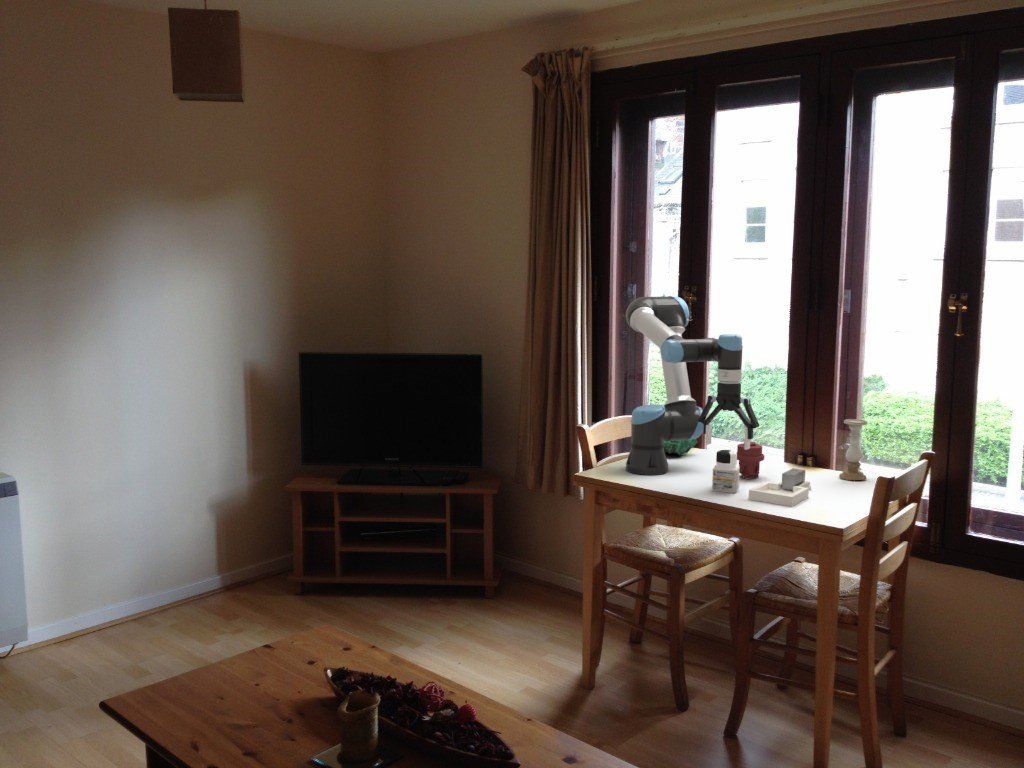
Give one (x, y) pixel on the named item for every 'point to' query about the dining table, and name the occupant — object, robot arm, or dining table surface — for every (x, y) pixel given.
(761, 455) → the mechanical component
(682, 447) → the mineral
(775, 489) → the dock socket
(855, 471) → the candle holder
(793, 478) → the grey rectangular block
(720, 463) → the container
